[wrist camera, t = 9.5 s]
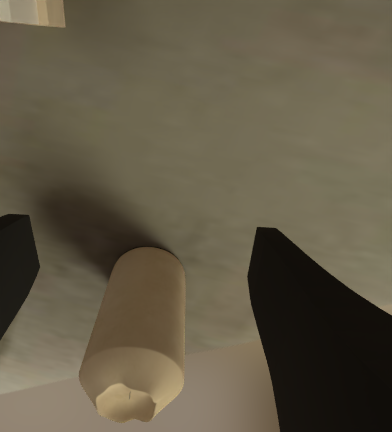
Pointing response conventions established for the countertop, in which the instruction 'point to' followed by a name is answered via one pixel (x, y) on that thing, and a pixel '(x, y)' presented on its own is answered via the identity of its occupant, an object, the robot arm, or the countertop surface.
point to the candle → (138, 338)
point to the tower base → (50, 13)
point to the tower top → (19, 11)
